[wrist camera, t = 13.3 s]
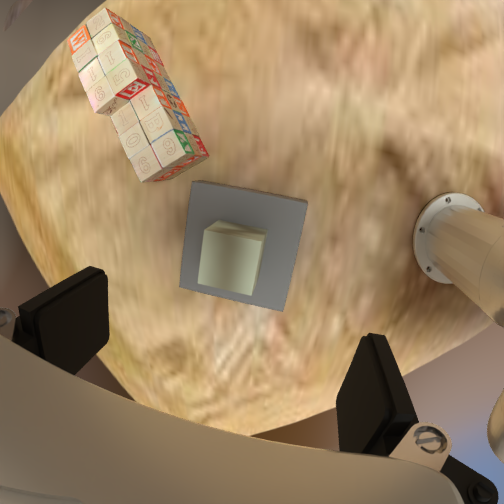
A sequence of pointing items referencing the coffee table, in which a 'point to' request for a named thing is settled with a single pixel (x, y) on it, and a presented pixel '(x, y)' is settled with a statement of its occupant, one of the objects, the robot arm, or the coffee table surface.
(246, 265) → the sage cube
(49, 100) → the coffee table surface
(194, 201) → the plinth
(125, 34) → the stack of blocks
